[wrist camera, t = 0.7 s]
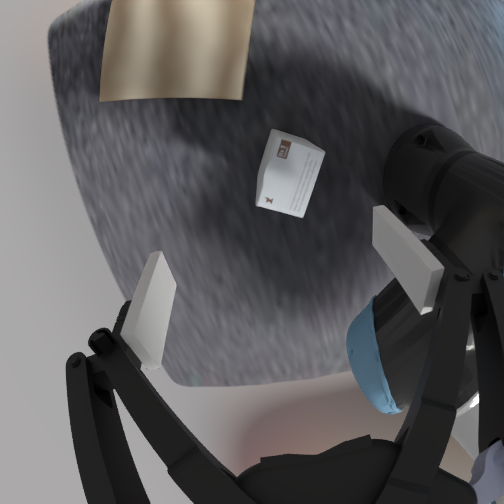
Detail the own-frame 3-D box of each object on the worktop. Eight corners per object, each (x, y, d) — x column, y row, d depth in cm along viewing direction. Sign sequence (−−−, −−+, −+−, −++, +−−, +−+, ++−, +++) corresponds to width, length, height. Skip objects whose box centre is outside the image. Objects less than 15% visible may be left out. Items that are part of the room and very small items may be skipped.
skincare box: (290, 183, 34) (306, 223, 23) (255, 173, 33) (253, 209, 23) (306, 136, 31) (331, 153, 20) (269, 125, 30) (275, 135, 20)
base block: (255, -4, 22) (255, -17, 18) (242, 100, 29) (240, 99, 25) (127, 3, 21) (113, -6, 18) (115, 100, 28) (99, 101, 25)
